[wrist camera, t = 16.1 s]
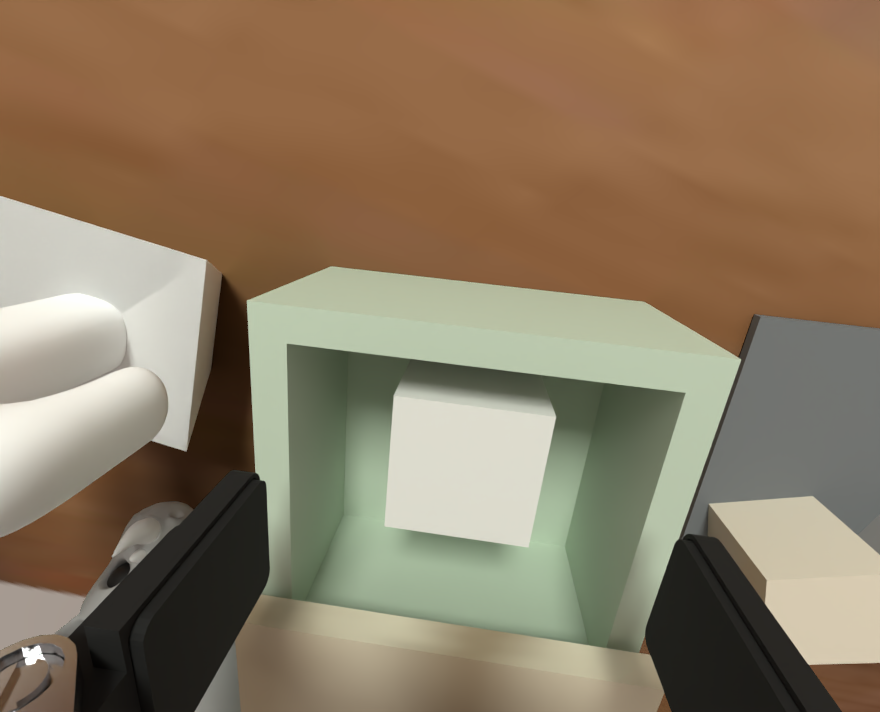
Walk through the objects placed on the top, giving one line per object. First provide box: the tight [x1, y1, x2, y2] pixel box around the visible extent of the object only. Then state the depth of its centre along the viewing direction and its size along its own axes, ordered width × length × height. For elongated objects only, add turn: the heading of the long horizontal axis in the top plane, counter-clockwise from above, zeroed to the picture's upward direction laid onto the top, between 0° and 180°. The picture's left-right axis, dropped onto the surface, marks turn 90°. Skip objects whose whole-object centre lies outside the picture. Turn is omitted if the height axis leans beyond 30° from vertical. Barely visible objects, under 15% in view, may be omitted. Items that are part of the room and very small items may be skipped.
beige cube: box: [708, 496, 880, 665], centre depth 17 cm, size 4×4×4 cm
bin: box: [247, 266, 741, 653], centre depth 17 cm, size 12×20×6 cm, turn 174°
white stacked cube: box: [384, 359, 556, 548], centre depth 15 cm, size 4×4×5 cm
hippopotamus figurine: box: [55, 501, 262, 712], centre depth 18 cm, size 8×12×9 cm, turn 176°
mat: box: [678, 314, 880, 540], centre depth 18 cm, size 12×12×1 cm
